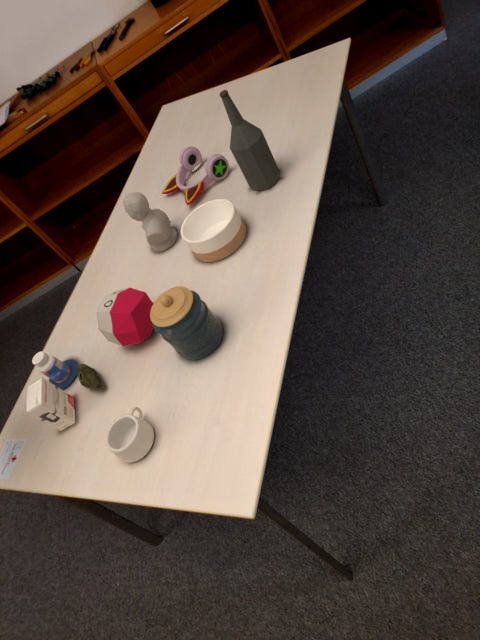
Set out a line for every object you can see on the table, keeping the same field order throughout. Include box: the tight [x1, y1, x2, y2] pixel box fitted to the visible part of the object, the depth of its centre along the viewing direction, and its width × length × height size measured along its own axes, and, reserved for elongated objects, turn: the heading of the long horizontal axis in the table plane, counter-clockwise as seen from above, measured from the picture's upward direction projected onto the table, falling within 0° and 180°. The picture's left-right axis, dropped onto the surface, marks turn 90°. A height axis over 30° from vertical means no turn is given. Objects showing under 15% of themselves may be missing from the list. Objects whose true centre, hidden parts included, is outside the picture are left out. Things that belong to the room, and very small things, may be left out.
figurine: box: [122, 191, 178, 253], centre depth 136 cm, size 9×13×20 cm
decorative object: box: [96, 287, 154, 347], centre depth 117 cm, size 15×15×15 cm
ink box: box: [25, 377, 76, 432], centre depth 112 cm, size 8×5×12 cm, turn 20°
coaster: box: [48, 358, 80, 391], centre depth 125 cm, size 10×10×1 cm
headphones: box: [161, 146, 230, 207], centre depth 152 cm, size 20×10×20 cm
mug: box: [105, 406, 155, 463], centre depth 99 cm, size 12×10×6 cm
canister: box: [150, 285, 224, 361], centre depth 104 cm, size 13×13×18 cm
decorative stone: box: [77, 363, 104, 390], centre depth 117 cm, size 11×8×5 cm
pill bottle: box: [31, 350, 70, 383], centre depth 121 cm, size 6×5×10 cm
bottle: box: [219, 89, 280, 192], centre depth 128 cm, size 10×10×30 cm
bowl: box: [180, 198, 247, 263], centre depth 128 cm, size 17×17×8 cm
